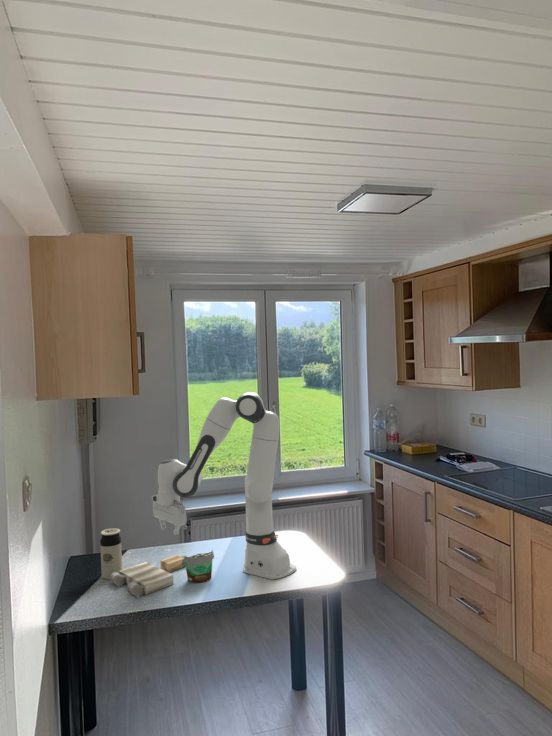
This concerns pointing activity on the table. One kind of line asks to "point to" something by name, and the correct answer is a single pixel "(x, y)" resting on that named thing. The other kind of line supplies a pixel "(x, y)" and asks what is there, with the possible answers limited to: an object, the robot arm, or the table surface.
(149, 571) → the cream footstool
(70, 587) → the table surface
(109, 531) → the travel mug
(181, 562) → the tan rectangular block
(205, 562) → the food container
